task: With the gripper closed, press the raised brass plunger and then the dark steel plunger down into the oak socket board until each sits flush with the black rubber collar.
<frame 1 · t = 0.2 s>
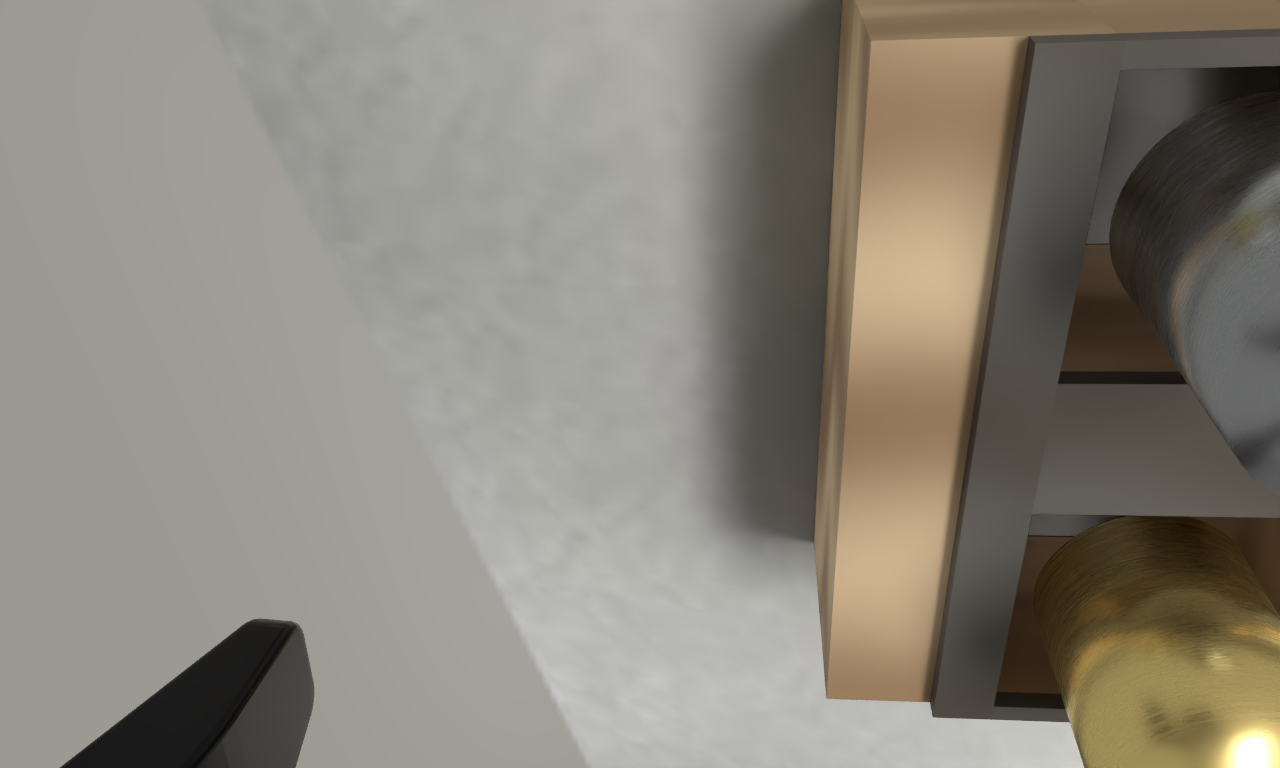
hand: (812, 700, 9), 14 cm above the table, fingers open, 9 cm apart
brass plunger: (1180, 686, 18), point 7 cm above the table, slide at 4.0 cm
socket board: (1108, 303, 22), on the table
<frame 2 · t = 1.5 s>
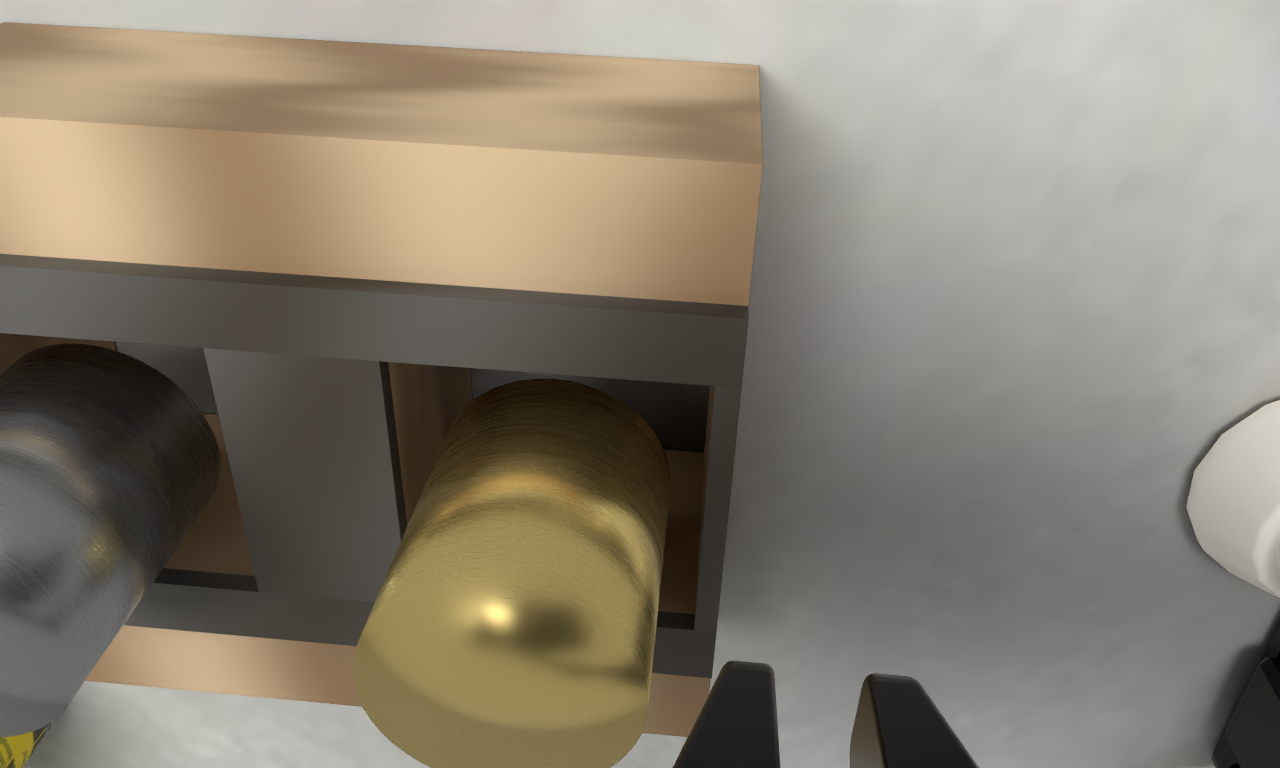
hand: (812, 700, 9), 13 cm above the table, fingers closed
brass plunger: (531, 571, 16), point 7 cm above the table, slide at 4.0 cm
socket board: (403, 330, 22), on the table
steel plunger: (30, 528, 16), point 7 cm above the table, slide at 4.0 cm
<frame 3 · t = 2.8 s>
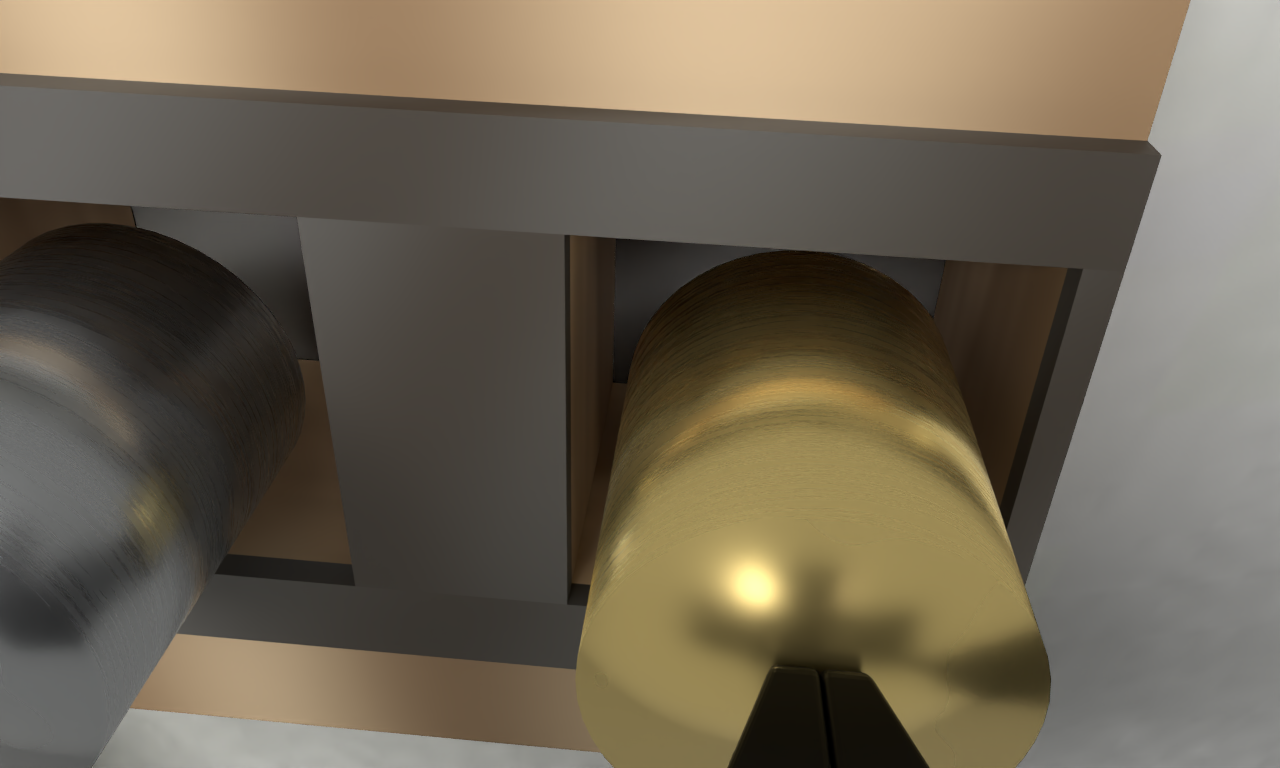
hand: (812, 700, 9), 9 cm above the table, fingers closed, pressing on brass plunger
brass plunger: (795, 520, 11), point 6 cm above the table, slide at 3.5 cm, touching gripper
socket board: (529, 240, 16), on the table
steel plunger: (36, 489, 11), point 7 cm above the table, slide at 4.0 cm
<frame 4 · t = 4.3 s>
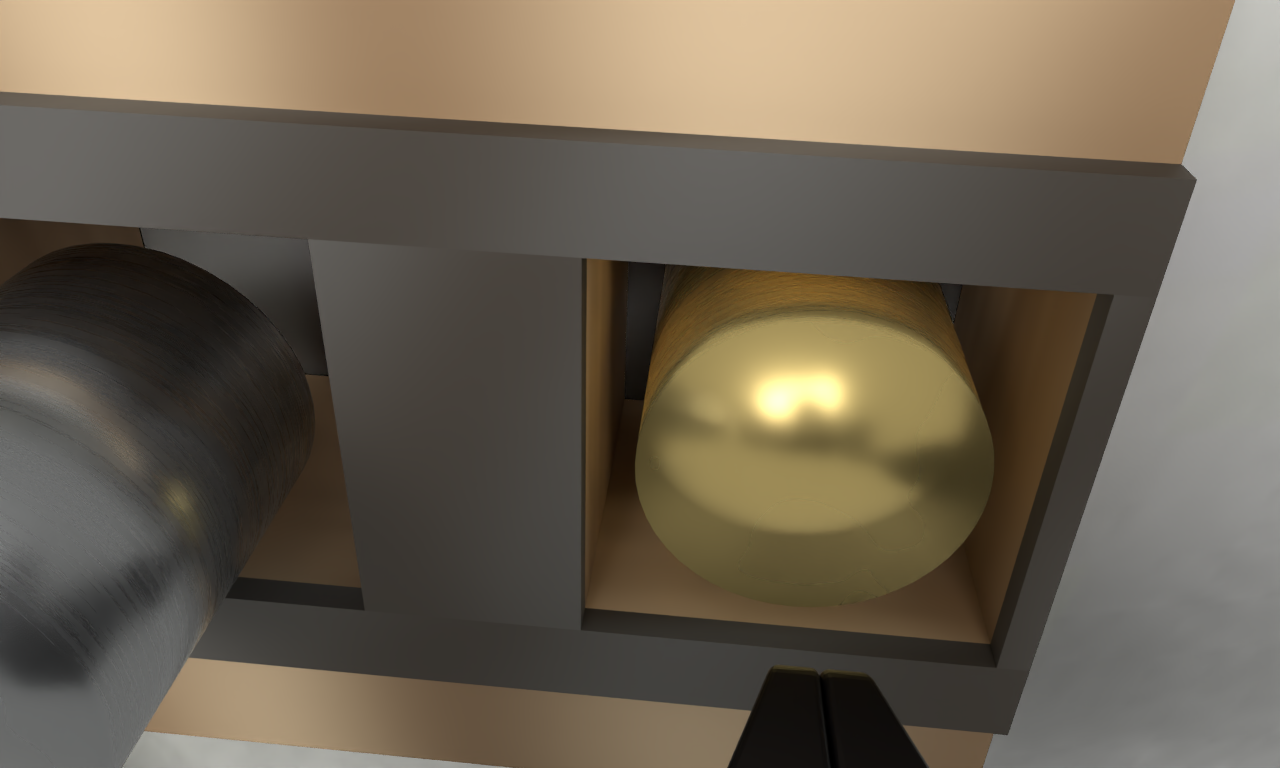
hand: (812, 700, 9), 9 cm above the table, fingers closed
brass plunger: (801, 367, 14), point 3 cm above the table, slide at -0.1 cm
socket board: (540, 255, 16), on the table
steel plunger: (41, 517, 11), point 7 cm above the table, slide at 4.0 cm
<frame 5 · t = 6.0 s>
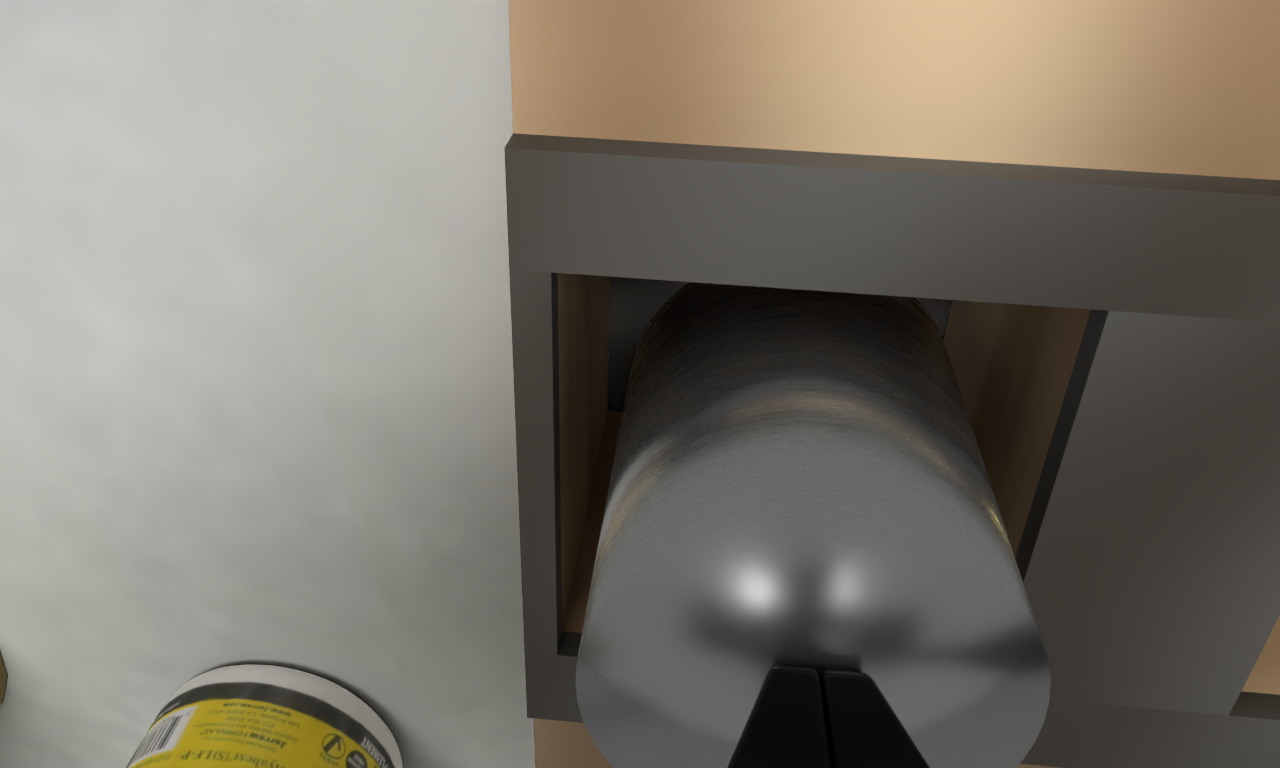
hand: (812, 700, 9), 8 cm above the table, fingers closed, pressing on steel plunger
socket board: (1048, 299, 15), on the table
steel plunger: (795, 520, 11), point 6 cm above the table, slide at 2.6 cm, touching gripper
supplement bottle: (293, 732, 23), on the table
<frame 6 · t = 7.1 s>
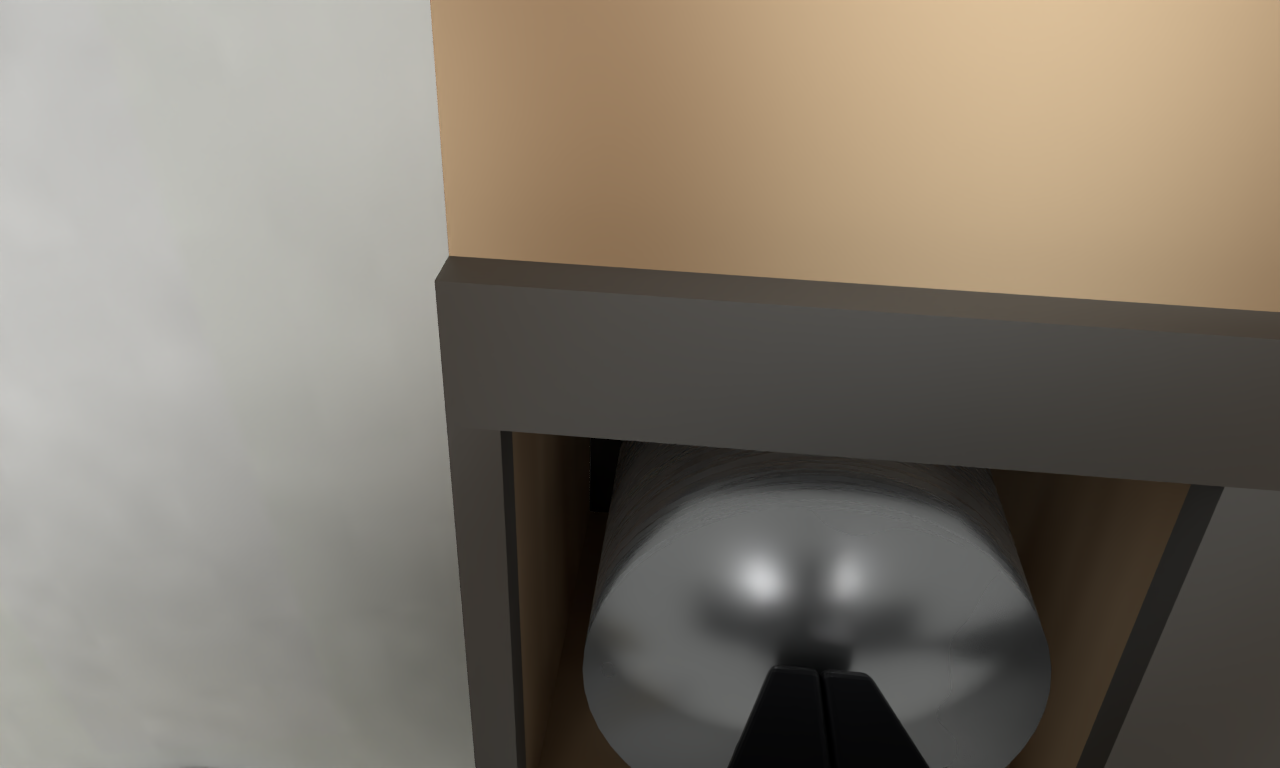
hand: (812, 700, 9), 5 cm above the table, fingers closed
socket board: (1102, 395, 13), on the table
steel plunger: (798, 513, 11), point 3 cm above the table, slide at -0.1 cm
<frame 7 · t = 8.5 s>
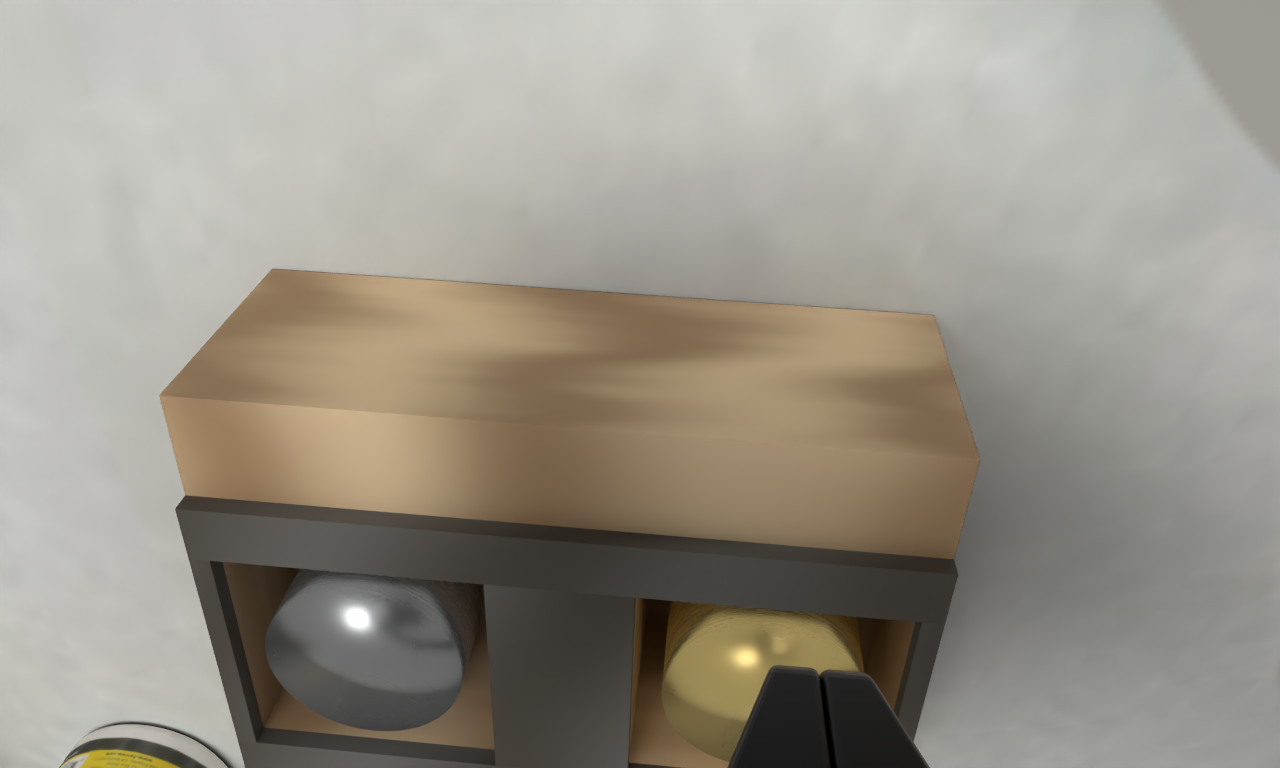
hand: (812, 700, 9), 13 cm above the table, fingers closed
brass plunger: (761, 612, 22), point 3 cm above the table, slide at -0.1 cm
socket board: (594, 513, 25), on the table
steel plunger: (397, 581, 23), point 3 cm above the table, slide at -0.1 cm
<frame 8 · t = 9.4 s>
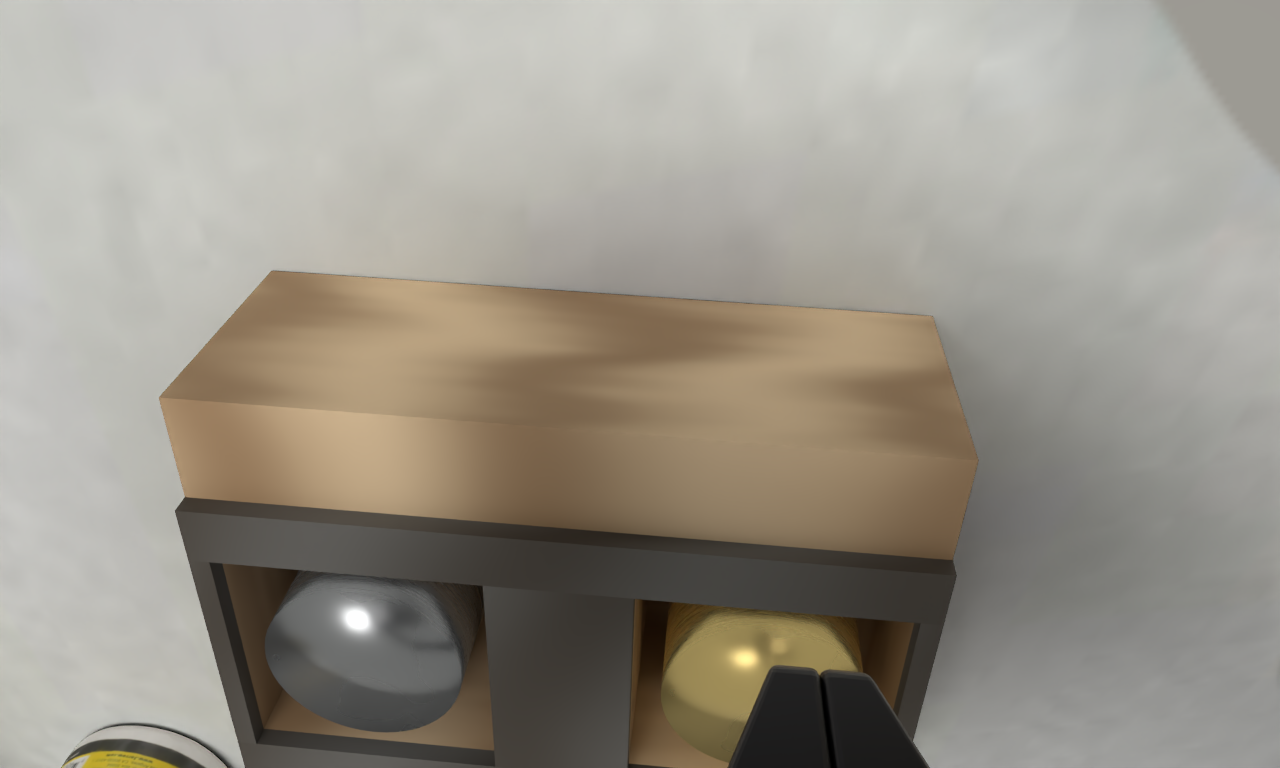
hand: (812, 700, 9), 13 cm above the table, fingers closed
brass plunger: (761, 613, 22), point 3 cm above the table, slide at -0.1 cm
socket board: (593, 514, 25), on the table
steel plunger: (397, 582, 23), point 3 cm above the table, slide at -0.1 cm
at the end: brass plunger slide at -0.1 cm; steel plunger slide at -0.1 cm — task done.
